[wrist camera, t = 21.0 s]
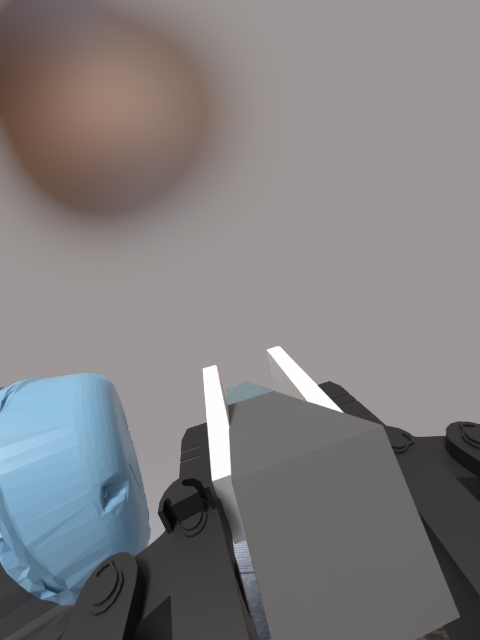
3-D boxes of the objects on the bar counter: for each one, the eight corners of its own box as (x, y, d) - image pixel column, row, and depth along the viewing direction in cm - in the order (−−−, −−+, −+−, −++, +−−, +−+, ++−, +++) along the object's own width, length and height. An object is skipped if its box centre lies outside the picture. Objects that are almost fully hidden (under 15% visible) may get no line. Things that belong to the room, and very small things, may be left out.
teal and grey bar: (460, 616, 4) (383, 425, 4) (287, 702, 3) (231, 480, 4) (253, 403, 31) (247, 382, 31) (232, 410, 30) (226, 388, 31)
